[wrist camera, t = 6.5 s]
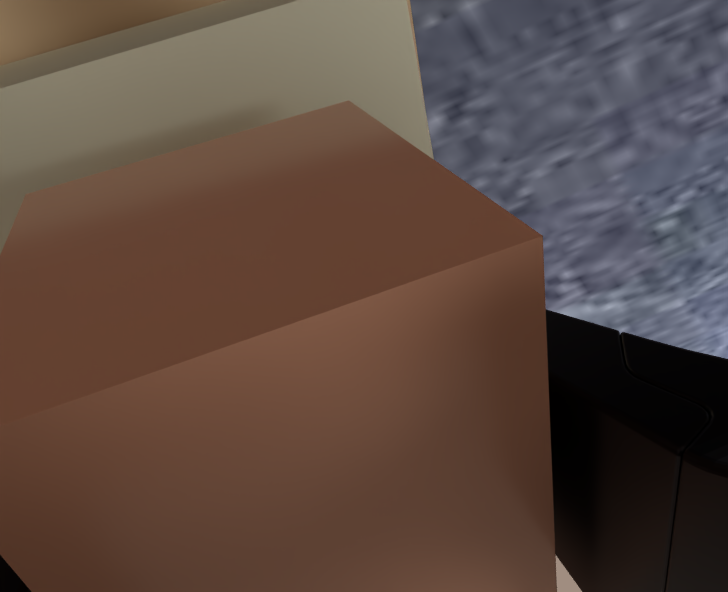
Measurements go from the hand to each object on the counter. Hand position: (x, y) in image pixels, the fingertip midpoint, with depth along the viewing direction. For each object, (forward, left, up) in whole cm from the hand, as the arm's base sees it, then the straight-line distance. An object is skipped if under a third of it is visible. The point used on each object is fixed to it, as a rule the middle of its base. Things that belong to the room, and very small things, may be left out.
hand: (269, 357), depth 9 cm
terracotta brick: (0, 0, -1) cm, 1 cm away
